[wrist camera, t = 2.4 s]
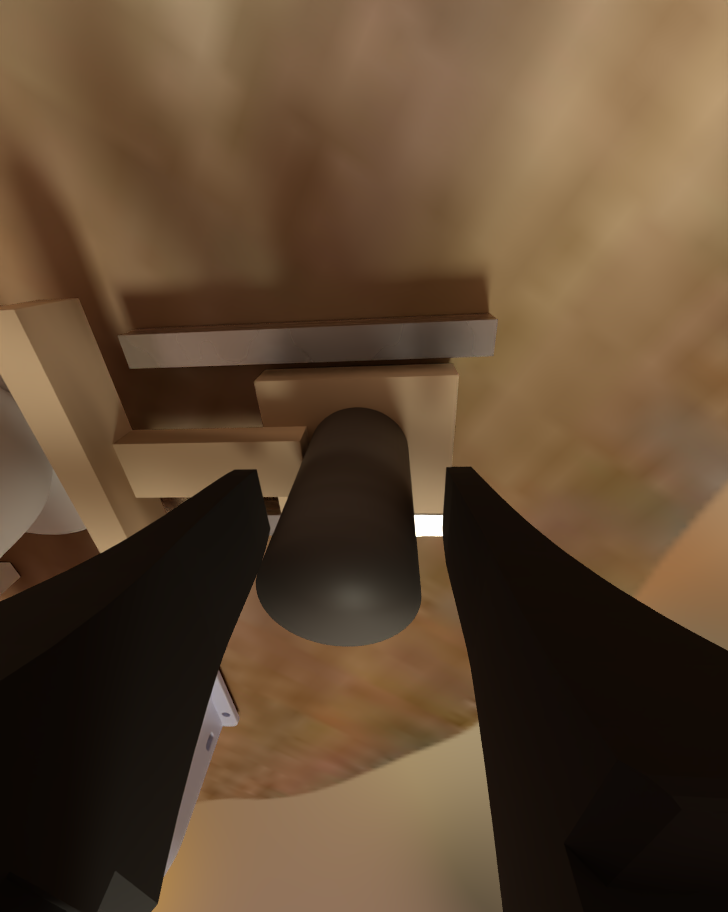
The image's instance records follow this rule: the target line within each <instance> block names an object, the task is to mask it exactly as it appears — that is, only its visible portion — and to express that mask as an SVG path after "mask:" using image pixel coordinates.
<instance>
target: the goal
mask: <svg viewBox="0 0 728 912" xmlns="http://www.w3.org/2000/svg"><path fill="white" fill-rule="evenodd" d="M19 578H20V576H19V574H18V573H17V571H16V570H15V569H14V567H13V566H12V565H11V563H10V562H0V595H1V594H2V593H3V592H5V591H6V590H7V589H8V588H9V587H10V586H11V585H12V584H13V583H14V582H16V581H17V580H18V579H19Z"/></svg>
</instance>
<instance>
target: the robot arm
mask: <svg viewBox="0 0 728 912" xmlns="http://www.w3.org/2000/svg"><path fill="white" fill-rule="evenodd" d="M270 529H271V528H270V524H269V520H268V516H267V511H266V507H265V503H264V498H263V494H262V490H261V486H260V481H259V477H258V473H257V469H234V470H233V471H231V472H229V473H227V474H226V475H224V476H222V477H221V478H219V479H218V480H216V481H215V482H213V483H212V484H210V485H209V486H207V487H206V488H204V489H203V490H201V491H200V492H198V493H197V494H195V495H194V496H192V497H191V498H189V499H188V500H186V501H185V502H183V503H182V504H180V505H179V506H178V507H176V508H175V509H173V510H172V511H170V512H169V513H167V514H165V515H164V516H162V517H161V518H159V519H157V520H156V521H154V522H153V523H151V524H149V525H148V526H146V527H145V528H143V529H141V530H140V531H138V532H137V533H135V534H133V535H132V536H130V537H128V538H127V539H125V540H123V541H122V542H120V543H118V544H116V545H115V546H113V547H111V548H109V549H107V550H106V551H104V552H102V553H100V554H98V555H96V556H94V557H93V558H91V559H89V560H87V561H85V562H83V563H81V564H79V565H77V566H75V567H73V568H71V569H69V570H67V571H65V572H63V573H61V574H59V575H57V576H55V577H53V578H50V579H48V580H46V581H44V582H42V583H40V584H38V585H35V586H33V587H31V588H29V589H27V590H25V591H23V592H20V593H18V594H16V595H14V596H12V597H10V598H7V599H5V600H3V601H0V912H151V911H152V910H153V909H154V908H155V907H156V905H157V904H158V900H159V896H160V891H161V886H162V882H163V877H164V876H165V874H166V872H167V871H168V869H169V868H170V866H171V865H172V863H173V861H174V859H175V857H176V855H177V853H178V851H179V848H180V846H181V844H182V841H183V838H184V836H185V832H186V830H187V827H188V824H189V821H190V818H191V815H192V812H193V810H194V806H195V804H196V801H197V798H198V795H199V792H200V789H201V787H202V784H203V781H204V778H205V775H206V772H207V769H208V766H209V763H210V761H211V758H212V755H213V752H214V749H215V746H216V743H217V740H218V738H219V735H220V732H221V729H222V726H236V725H237V724H238V721H239V715H238V713H237V711H236V708H235V706H234V704H233V701H232V699H231V697H230V695H229V692H228V690H227V688H226V685H225V683H224V681H223V678H222V676H221V674H220V671H219V667H220V664H221V661H222V658H223V655H224V653H225V650H226V647H227V645H228V642H229V639H230V637H231V635H232V632H233V630H234V628H235V625H236V623H237V621H238V618H239V616H240V613H241V611H242V609H243V606H244V604H245V602H246V599H247V597H248V594H249V592H250V590H251V587H252V585H253V582H254V580H255V578H256V575H257V573H258V570H259V568H260V565H261V563H262V560H263V556H264V552H265V549H266V545H267V541H268V537H269V533H270ZM442 534H443V543H444V551H445V559H446V565H447V570H448V574H449V578H450V582H451V586H452V590H453V594H454V598H455V602H456V606H457V611H458V615H459V619H460V623H461V627H462V631H463V635H464V639H465V643H466V647H467V652H468V657H469V662H470V666H471V673H472V679H473V686H474V693H475V699H476V706H477V712H478V720H479V727H480V734H481V741H482V748H483V754H484V762H485V770H486V777H487V784H488V792H489V800H490V808H491V815H492V823H493V831H494V840H495V848H496V856H497V865H498V873H499V882H500V890H501V898H502V907H503V912H728V651H727V650H725V649H724V648H722V647H720V646H718V645H716V644H714V643H712V642H710V641H708V640H707V639H705V638H703V637H701V636H699V635H697V634H695V633H693V632H692V631H690V630H688V629H686V628H684V627H683V626H681V625H679V624H677V623H675V622H674V621H672V620H670V619H668V618H666V617H665V616H663V615H661V614H660V613H658V612H656V611H655V610H653V609H651V608H650V607H648V606H646V605H645V604H643V603H641V602H640V601H638V600H637V599H635V598H633V597H632V596H630V595H628V594H627V593H625V592H623V591H622V590H620V589H618V588H617V587H615V586H614V585H612V584H611V583H609V582H608V581H606V580H605V579H603V578H602V577H600V576H599V575H597V574H596V573H594V572H593V571H591V570H590V569H589V568H587V567H586V566H584V565H583V564H581V563H580V562H579V561H577V560H576V559H574V558H573V557H572V556H570V555H569V554H567V553H566V552H565V551H563V550H562V549H561V548H559V547H558V546H557V545H555V544H554V543H553V542H552V541H550V540H549V539H548V538H547V537H546V536H544V535H543V534H542V533H541V532H539V531H538V530H537V529H536V528H535V527H533V526H532V525H531V524H530V523H529V522H528V521H526V520H525V519H524V518H523V517H522V516H521V515H520V514H519V513H517V512H516V511H515V510H514V509H513V508H512V507H511V506H510V505H509V504H508V503H507V502H506V501H505V500H504V499H503V498H501V497H500V496H499V495H498V494H497V493H496V492H495V491H494V490H493V489H492V488H491V487H490V486H489V485H488V484H487V482H486V481H485V480H484V479H483V478H482V477H481V476H480V475H479V474H478V473H477V472H476V471H475V470H474V469H473V468H472V467H446V478H445V492H444V507H443V521H442Z"/></svg>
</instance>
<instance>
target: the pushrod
mask: <svg viewBox="0 0 728 912" xmlns="http://www.w3.org/2000/svg"><path fill="white" fill-rule="evenodd" d="M0 374H1V376H2V378H3V380H4V382H5V383H6V385H7V387H8V389H9V391H10V392H11V394H12V396H13V398H14V400H15V401H16V403H17V405H18V407H19V408H20V410H21V412H22V414H23V416H24V417H25V419H26V421H27V423H28V425H29V426H30V428H31V430H32V432H33V434H34V435H35V437H36V439H37V441H38V443H39V444H40V446H41V448H42V450H43V451H44V453H45V455H46V457H47V459H48V460H49V462H50V464H51V466H52V468H53V469H54V471H55V473H56V475H57V477H58V478H59V480H60V482H61V484H62V486H63V487H64V489H65V491H66V493H67V494H68V496H69V498H70V500H71V502H72V503H73V505H74V507H75V509H76V511H77V512H78V514H79V516H80V518H81V520H82V521H83V523H84V525H85V527H86V529H87V530H88V532H89V534H90V536H91V537H92V539H93V541H94V543H95V545H96V546H97V548H98V550H99V552H100V553H102V552H104V551H106V550H107V549H109V548H111V547H113V546H115V545H116V544H118V543H120V542H122V541H123V540H125V539H127V538H128V537H130V536H132V535H133V534H135V533H137V532H138V531H140V530H141V529H143V528H145V527H146V526H148V525H149V524H151V523H153V522H154V521H156V520H157V519H159V518H161V517H162V516H164V515H165V514H166V512H165V509H164V507H163V504H162V502H161V500H160V498H162V497H192V496H194V495H195V494H197V493H198V492H200V491H201V490H203V489H204V488H206V487H207V486H209V485H210V484H212V483H213V482H215V481H216V480H218V479H219V478H221V477H222V476H224V475H226V474H227V473H229V472H231V471H233V470H234V469H257V473H258V477H259V481H260V486H261V490H262V494H263V497H278V500H279V505H280V510H281V516H280V518H279V520H278V523H277V525H276V528H275V530H274V533H273V535H272V538H271V540H270V543H269V545H268V548H267V550H266V553H265V555H264V558H263V560H262V563H261V565H260V568H259V570H258V573H257V578H256V590H257V595H258V598H259V600H260V602H261V604H262V606H263V608H264V609H265V611H266V612H267V613H268V614H269V616H270V617H271V618H272V619H273V620H274V621H276V622H277V623H278V624H279V625H281V626H282V627H283V628H285V629H286V630H288V631H290V632H292V633H293V634H295V635H297V636H300V637H302V638H305V639H307V640H310V641H314V642H317V643H321V644H326V645H333V646H362V645H368V644H373V643H377V642H380V641H383V640H386V639H388V638H391V637H392V636H394V635H396V634H398V633H399V632H401V631H402V630H404V629H405V628H406V627H407V626H408V625H409V624H410V623H411V622H412V621H413V619H414V618H415V616H416V614H417V613H418V610H419V607H420V604H421V585H420V574H419V562H418V551H417V540H416V528H415V517H414V514H443V507H444V492H445V478H446V467H452V458H453V445H454V433H455V420H456V407H457V394H458V382H459V374H458V372H457V370H456V368H455V366H454V364H453V363H443V364H413V365H384V366H354V367H325V368H295V369H266V370H265V371H264V372H263V373H262V374H261V375H260V376H259V377H258V378H257V379H256V380H255V381H254V385H255V390H256V395H257V399H258V404H259V409H260V414H261V419H262V423H263V427H247V428H200V429H152V430H132V428H131V426H130V423H129V421H128V418H127V416H126V413H125V411H124V409H123V406H122V404H121V401H120V399H119V396H118V394H117V391H116V389H115V386H114V384H113V381H112V379H111V377H110V374H109V372H108V369H107V367H106V364H105V362H104V359H103V357H102V354H101V352H100V350H99V347H98V345H97V342H96V340H95V337H94V335H93V332H92V330H91V327H90V325H89V322H88V320H87V318H86V315H85V313H84V310H83V308H82V305H81V303H80V300H79V298H69V299H50V300H36V301H30V302H24V303H17V304H11V305H5V306H0Z"/></svg>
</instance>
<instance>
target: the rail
mask: <svg viewBox="0 0 728 912" xmlns="http://www.w3.org/2000/svg"><path fill="white" fill-rule="evenodd" d="M497 322H498V319H497V318H495V317H494V316H493V315H491V314H490V313H483V314H461V315H438V316H415V317H393V318H370V319H347V320H325V321H302V322H279V323H257V324H234V325H211V326H189V327H166V328H143V329H135V330H132V331H129V332H126V333H124V334H121V335H118V339H119V341H120V344H121V347H122V349H123V352H124V355H125V357H126V360H127V363H128V365H129V368H130V369H138V368H167V367H195V366H224V365H252V364H281V363H309V362H338V361H367V360H395V359H424V358H452V357H481V356H493V355H494V347H495V339H496V331H497ZM264 503H265V507H266V511H267V516H268V520H269V524H270V528H271V529H270V533H269V535H273V533H274V530H275V528H276V525H277V523H278V520H279V518H280V516H281V510H280V505H279V500H264ZM414 517H415V528H416V536H443V534H442V521H443V514H414Z"/></svg>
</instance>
